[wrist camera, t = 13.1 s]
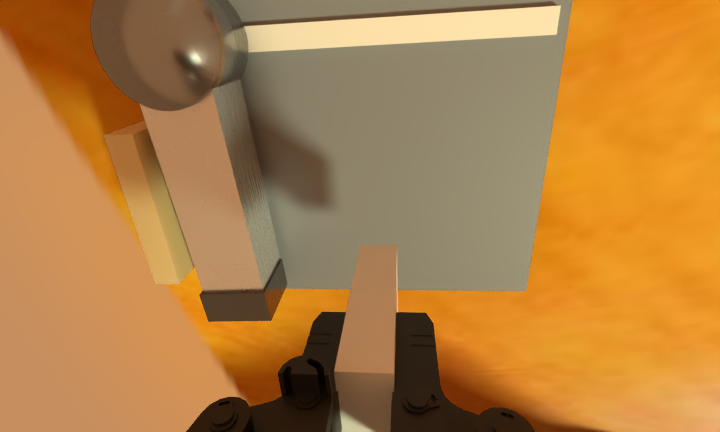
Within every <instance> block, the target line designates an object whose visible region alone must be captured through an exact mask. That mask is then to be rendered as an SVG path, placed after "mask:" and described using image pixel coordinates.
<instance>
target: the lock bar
mask: <svg viewBox="0 0 720 432" xmlns="http://www.w3.org/2000/svg"><path fill="white" fill-rule="evenodd" d="M90 27H91V37H92V42H93V46H94V49H95V52H96V55H97V57H98V60H99V62H100V64H101V66H102V67H103V69H104V71H105V72H106V74H107V75H108V77H109V78H110V79H111V81H112V82H113V83H114V84H115V85H116V86H117V87H118V88H119V89H120V90H121V91H122V92H123V93H124V94H125V95H127V96H128V97H129V98H131V99H132V100H134V101H135V102H137V103H139V104H140V107H141V110H142V113H143V116H144V119H145V122H146V125H147V128H148V131H149V134H150V137H151V140H152V143H153V146H154V149H155V151H156V154H157V157H158V160H159V163H160V166H161V169H162V172H163V175H164V178H165V181H166V184H167V187H168V190H169V193H170V196H171V199H172V202H173V205H174V207H175V210H176V213H177V216H178V219H179V222H180V225H181V228H182V231H183V234H184V237H185V240H186V243H187V246H188V249H189V252H190V255H191V258H192V261H193V263H194V266H195V269H196V272H197V275H198V278H199V281H200V284H201V287H202V290H203V291H202V292H201V294H200V298H201V301H202V304H203V307H204V310H205V313H206V316H207V318H208V321H209V322H212V321H271V320H272V318H273V315H274V313H275V311H276V308H277V306H278V304H279V302H280V299H281V297H282V295H283V293H284V290H285V288H286V286H287V284H288V283H287V279H286V274H285V270H284V265H283V261H282V259H280V255H279V251H278V246H277V242H276V238H275V233H274V229H273V224H272V220H271V215H270V211H269V206H268V202H267V197H266V193H265V188H264V184H263V179H262V175H261V171H260V166H259V162H258V157H257V153H256V148H255V144H254V139H253V135H252V130H251V126H250V121H249V117H248V112H247V108H246V103H245V99H244V95H243V90H242V86H241V81H240V79H241V77H242V76H243V74H244V71H245V69H246V66H247V61H248V52H249V51H248V39H247V34H246V31H245V28H244V25H243V23H242V20H241V18H240V16H239V15H238V13H237V12H236V10H235V9H234V7H233V6H232V5H231V4H230V2H229V1H228V0H95V1H94V5H93V8H92V13H91V24H90Z"/></svg>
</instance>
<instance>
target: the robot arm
mask: <svg viewBox="0 0 720 432" xmlns="http://www.w3.org/2000/svg"><path fill="white" fill-rule="evenodd" d="M278 377H279V382H280V387H281V392H282V396H281V397H280V398H278V399H276V400H274V401H271V402H268V403H264V404H260V405H256V406H252V407H249V405H248V404H247V402H246V401H245V400H243V399H241V398H239V397H227V398H223V399H219V400H218V401H216V402H214V403H212V404H210V405H209V406H208V407H207V408H206V409H205V410H204V411H203V412H202V413H201V414H200V415H199V417H198V418H197V419H196V420H195V422H194V423H193V424H192V425H191V427H190V428H189V429H188V430H187V431H186V432H535V431H534V429H533V427H532V426H531V425H530V424H529V423H528V421H527V420H526V419H525V418H524V417H522V416H521V415H519V414H518V413H516V412H515V411H512V410H509V409H506V408H490V409H488V410H485V411H483V412H482V413H481V414H480V415H477V414H474V413H471V412H468V411H465V410H463V409H460V408H458V407H456V406H455V405H454V404H452V403H451V402H450V401H449V400H448V399H447V398H446V397H445V396H444V394H443V392H442V390H441V386H440V381H439V371H438V362H437V353H436V344H435V335H434V325H433V322H432V321H431V319H430V318H429V317H428V315H427V314H426V313H406V312H398V277H397V245H360V246H359V251H358V256H357V261H356V266H355V271H354V276H353V281H352V286H351V291H350V295H349V300H348V305H347V310H346V312H322V313H321V314H320V315H319V316H318V317H317V318H316V319H315V320H314V321H313V324H312V327H311V331H310V336H309V337H308V340H307V345H306V347H305V350H304V353H303V356H298V357H295V358H293V359H291V360H289V361H288V362H287V363H285V364H284V365H283V366H282V367H281V369H280V371H279V372H278Z"/></svg>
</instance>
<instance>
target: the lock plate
mask: <svg viewBox="0 0 720 432" xmlns="http://www.w3.org/2000/svg"><path fill="white" fill-rule="evenodd" d="M228 1H229V2H230V4H231V5H232V6H233V7H234V9H235V10H236V12H237V13H238V15H239V16H240V18H241V20H242V23H243V25H244V28H245V31H246V34H247V39H248V51H249V52H248V61H247V66H246V69H245V71H244V74H243V76H242V77H241V79H240V81H241V86H242V90H243V95H244V99H245V103H246V108H247V112H248V117H249V121H250V126H251V130H252V135H253V139H254V144H255V148H256V153H257V157H258V162H259V166H260V171H261V175H262V179H263V184H264V188H265V193H266V197H267V202H268V206H269V211H270V215H271V220H272V224H273V229H274V233H275V238H276V242H277V246H278V251H279V255H280V259H282V261H283V265H284V270H285V274H286V279H287V283H288V284H287V286H286V288H293V289H351V286H352V281H353V276H354V271H355V266H356V261H357V256H358V251H359V246H360V245H397V277H398V290H459V291H526V288H527V282H528V276H529V269H530V263H531V257H532V251H533V244H534V238H535V232H536V226H537V219H538V213H539V207H540V201H541V194H542V188H543V182H544V176H545V169H546V163H547V157H548V151H549V144H550V138H551V132H552V125H553V119H554V113H555V107H556V100H557V94H558V88H559V82H560V75H561V69H562V63H563V57H564V50H565V44H566V38H567V32H568V25H569V19H570V13H571V7H572V0H228ZM103 136H104V139H105V142H106V145H107V148H108V150H109V153H110V156H111V159H112V162H113V165H114V168H115V171H116V173H117V176H118V179H119V182H120V185H121V188H122V191H123V193H124V196H125V199H126V202H127V205H128V208H129V211H130V213H131V216H132V219H133V222H134V225H135V228H136V231H137V234H138V236H139V239H140V242H141V245H142V248H143V251H144V254H145V256H146V259H147V262H148V265H149V267H150V271H151V273H152V276H153V279H154V282H155V284H180V283H181V282H182V281H183V280H184V278H185V277H186V276H187V275H188V274H189V273H190V271H191V270H192V269H193V268H194V267H195V266H194V263H193V261H192V258H191V255H190V252H189V249H188V246H187V243H186V240H185V237H184V234H183V231H182V228H181V225H180V222H179V219H178V216H177V213H176V210H175V207H174V205H173V202H172V199H171V196H170V193H169V190H168V187H167V184H166V181H165V178H164V175H163V172H162V169H161V166H160V163H159V160H158V157H157V154H156V151H155V149H154V146H153V143H152V140H151V137H150V134H149V131H148V128H147V125H146V122H145V120H143V121H141V122H138V123H135V124H133V125H130V126H127V127H124V128H122V129H119V130H116V131H114V132H111V133H108V134H105V135H103Z"/></svg>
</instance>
